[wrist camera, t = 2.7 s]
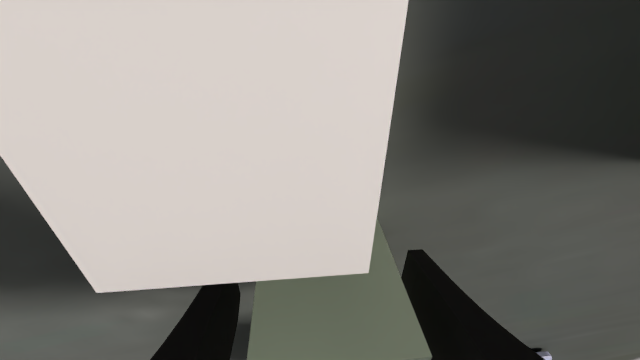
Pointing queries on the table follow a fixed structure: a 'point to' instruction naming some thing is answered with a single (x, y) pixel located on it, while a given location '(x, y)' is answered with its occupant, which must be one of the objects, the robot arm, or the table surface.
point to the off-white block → (201, 133)
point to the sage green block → (338, 316)
